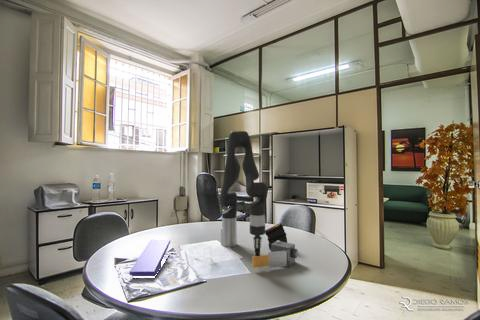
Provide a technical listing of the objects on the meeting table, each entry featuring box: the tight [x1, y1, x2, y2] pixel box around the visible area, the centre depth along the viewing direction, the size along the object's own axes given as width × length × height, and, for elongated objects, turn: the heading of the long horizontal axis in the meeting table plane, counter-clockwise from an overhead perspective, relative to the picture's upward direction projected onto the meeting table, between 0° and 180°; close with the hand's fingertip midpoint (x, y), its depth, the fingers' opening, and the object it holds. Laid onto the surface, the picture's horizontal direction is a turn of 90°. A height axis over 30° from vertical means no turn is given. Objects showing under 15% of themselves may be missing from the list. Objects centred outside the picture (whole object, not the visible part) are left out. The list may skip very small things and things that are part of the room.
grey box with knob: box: [270, 241, 299, 267], centre depth 119 cm, size 12×7×10 cm, turn 53°
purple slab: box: [129, 238, 171, 277], centre depth 116 cm, size 12×28×10 cm, turn 3°
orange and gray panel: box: [252, 249, 291, 269], centre depth 111 cm, size 19×1×8 cm, turn 104°
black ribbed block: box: [264, 222, 288, 251], centre depth 139 cm, size 4×13×15 cm, turn 91°
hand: (257, 259), depth 112 cm, fingers closed
